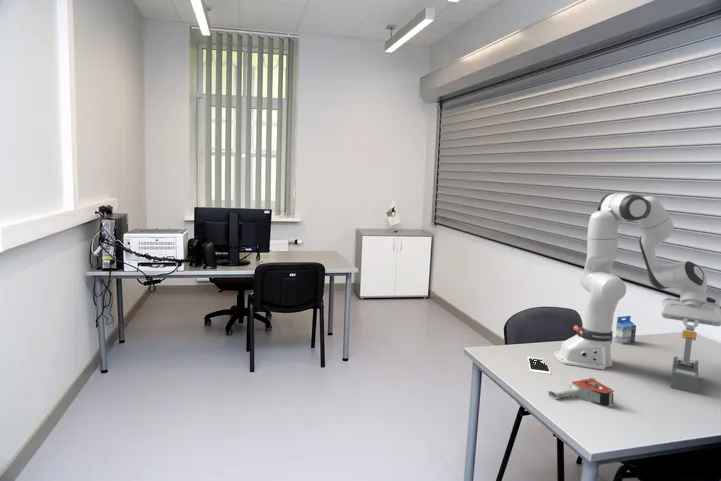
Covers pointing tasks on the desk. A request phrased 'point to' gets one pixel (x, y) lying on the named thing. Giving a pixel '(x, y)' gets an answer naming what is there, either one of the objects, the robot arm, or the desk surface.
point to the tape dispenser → (586, 392)
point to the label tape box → (625, 330)
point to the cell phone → (538, 366)
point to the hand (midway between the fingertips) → (690, 330)
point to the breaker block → (684, 376)
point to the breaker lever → (687, 348)
